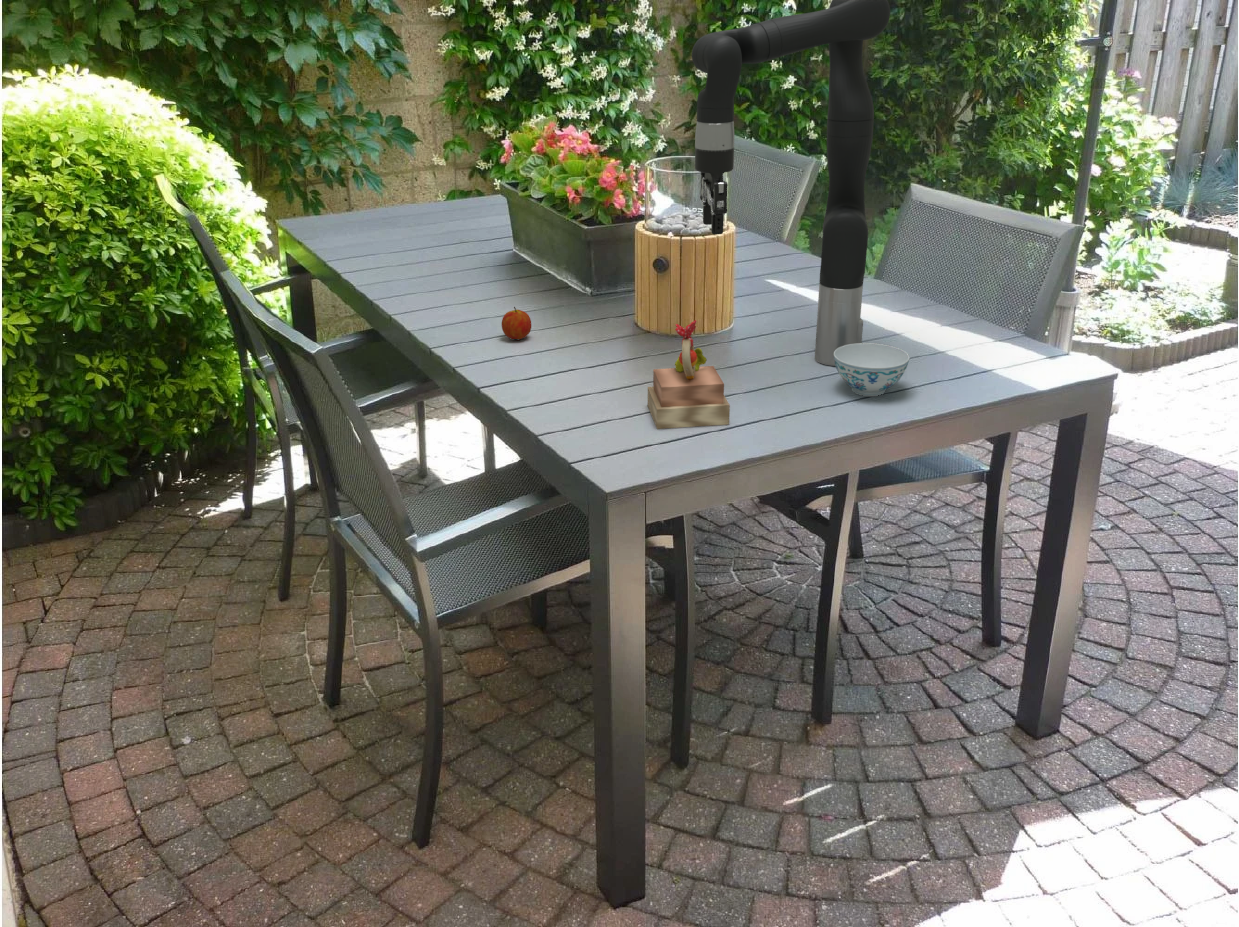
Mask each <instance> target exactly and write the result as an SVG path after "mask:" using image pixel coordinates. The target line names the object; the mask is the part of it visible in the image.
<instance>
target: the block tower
mask: <svg viewBox="0 0 1239 927" xmlns="http://www.w3.org/2000/svg"><path fill="white" fill-rule="evenodd" d="M652 373H653V374H652V375H653V377H652V378H653V379H652V380H653V382H652V384H653V385H652V386H647V408H648V410H649V413H650V414H651V418H652V419H653V422H654V425H655V427H656V429H657V430H662V429H663V430H664V429H676V428H677V429H679V428H693V427H708V426H709V427H710V426H726V425H730V414H731V413H730V411H731V407H730V406H731V405H730V403H729V401H728V398H726V396H725V383H724V381H723V380H722V377H721V376H720V374H719V373H718V371H717V370H716V368H715V366H714V365H708V366H707V365H706V366H700V367H699V370H698V371H695V373H694V378H693V379H687V378H686V374H685V372H684V371H682V372H677V371H676V367H671V368H670V367H669V368H656V369H655V368H654V369H653V372H652Z"/></svg>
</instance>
